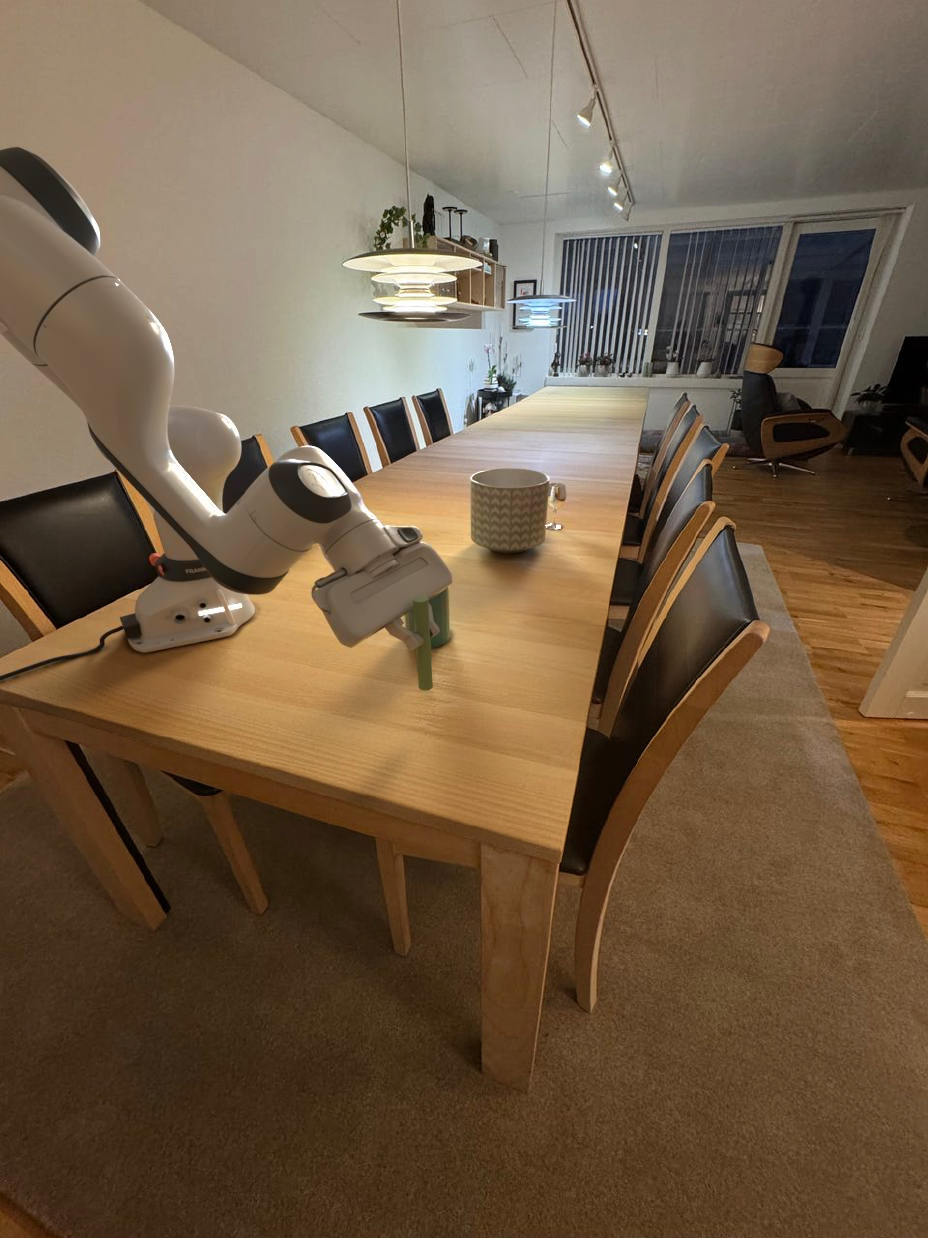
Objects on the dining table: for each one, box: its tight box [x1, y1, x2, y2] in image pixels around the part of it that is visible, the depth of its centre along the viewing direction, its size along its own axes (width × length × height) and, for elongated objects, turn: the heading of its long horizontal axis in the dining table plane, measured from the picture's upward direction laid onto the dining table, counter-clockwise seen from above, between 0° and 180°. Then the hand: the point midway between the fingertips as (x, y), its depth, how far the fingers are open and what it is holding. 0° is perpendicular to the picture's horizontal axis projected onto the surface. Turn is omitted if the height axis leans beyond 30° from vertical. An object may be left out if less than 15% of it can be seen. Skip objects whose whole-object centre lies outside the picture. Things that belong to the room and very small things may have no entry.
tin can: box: [403, 586, 451, 649], centre depth 92 cm, size 8×8×12 cm
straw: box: [413, 595, 434, 692], centre depth 69 cm, size 2×2×14 cm
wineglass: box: [546, 482, 567, 531], centre depth 144 cm, size 6×6×12 cm
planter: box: [470, 467, 550, 555], centre depth 129 cm, size 19×19×18 cm
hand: (426, 641), depth 69 cm, fingers closed on straw, 2 cm apart
